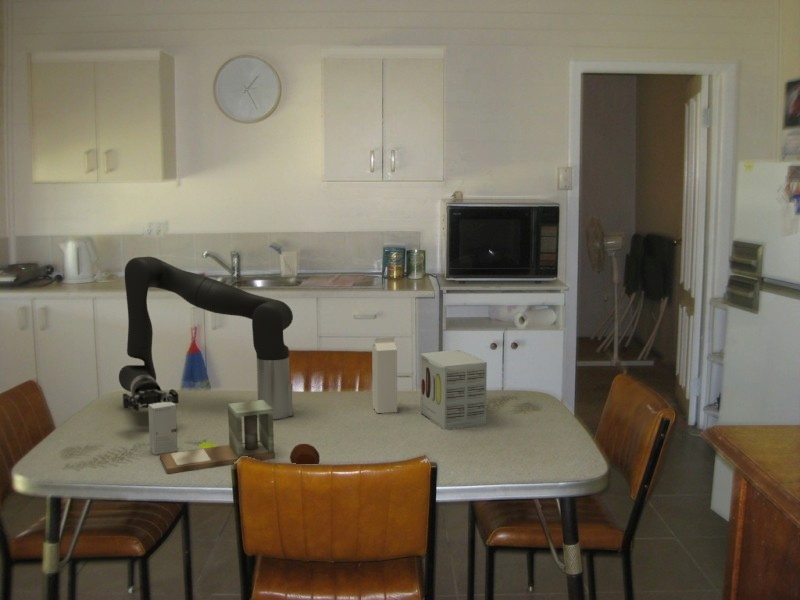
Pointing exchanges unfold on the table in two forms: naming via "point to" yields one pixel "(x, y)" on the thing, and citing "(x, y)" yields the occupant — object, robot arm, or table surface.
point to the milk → (384, 375)
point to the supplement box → (453, 389)
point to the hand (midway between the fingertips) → (154, 405)
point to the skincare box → (162, 427)
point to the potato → (304, 454)
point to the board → (231, 440)
